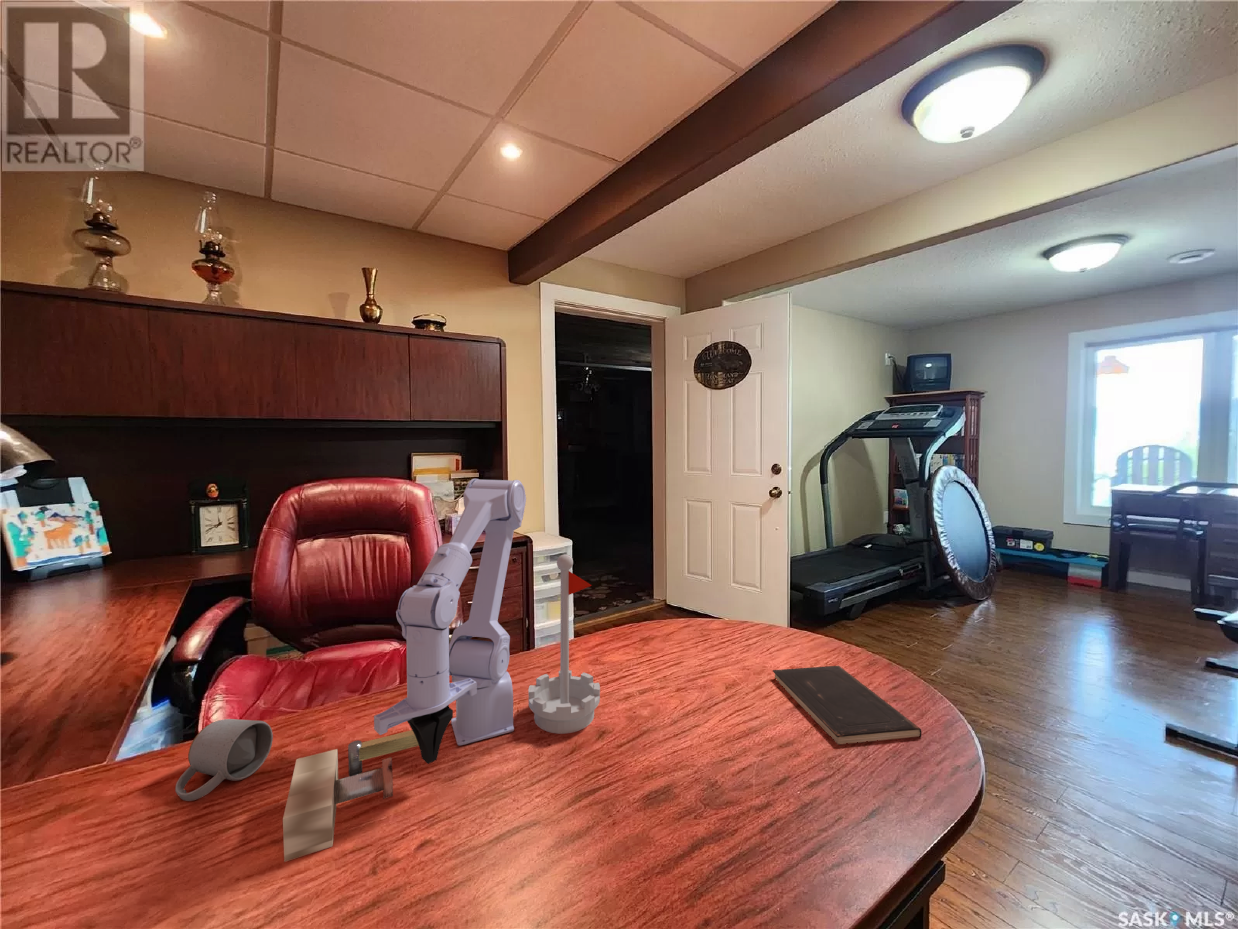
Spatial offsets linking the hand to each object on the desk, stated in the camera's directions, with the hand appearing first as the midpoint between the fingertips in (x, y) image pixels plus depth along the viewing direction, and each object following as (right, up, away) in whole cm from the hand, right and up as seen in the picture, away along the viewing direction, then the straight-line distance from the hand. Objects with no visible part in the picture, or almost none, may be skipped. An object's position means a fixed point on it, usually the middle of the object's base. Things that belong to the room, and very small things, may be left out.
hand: (429, 759), depth 71 cm
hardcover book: (+70, -4, +23) cm, 74 cm away
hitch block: (-13, -4, -6) cm, 15 cm away
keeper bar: (-9, -4, +4) cm, 10 cm away
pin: (-8, -4, -4) cm, 10 cm away
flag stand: (+18, -3, +18) cm, 26 cm away
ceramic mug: (-31, -4, +2) cm, 32 cm away
